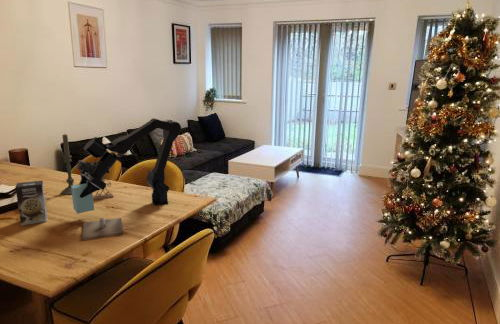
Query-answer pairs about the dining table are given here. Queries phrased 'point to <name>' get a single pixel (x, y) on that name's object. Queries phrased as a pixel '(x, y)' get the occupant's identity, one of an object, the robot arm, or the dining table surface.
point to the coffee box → (31, 202)
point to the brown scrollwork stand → (103, 194)
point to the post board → (102, 228)
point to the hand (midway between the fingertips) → (78, 194)
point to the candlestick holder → (67, 160)
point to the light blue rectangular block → (81, 199)
